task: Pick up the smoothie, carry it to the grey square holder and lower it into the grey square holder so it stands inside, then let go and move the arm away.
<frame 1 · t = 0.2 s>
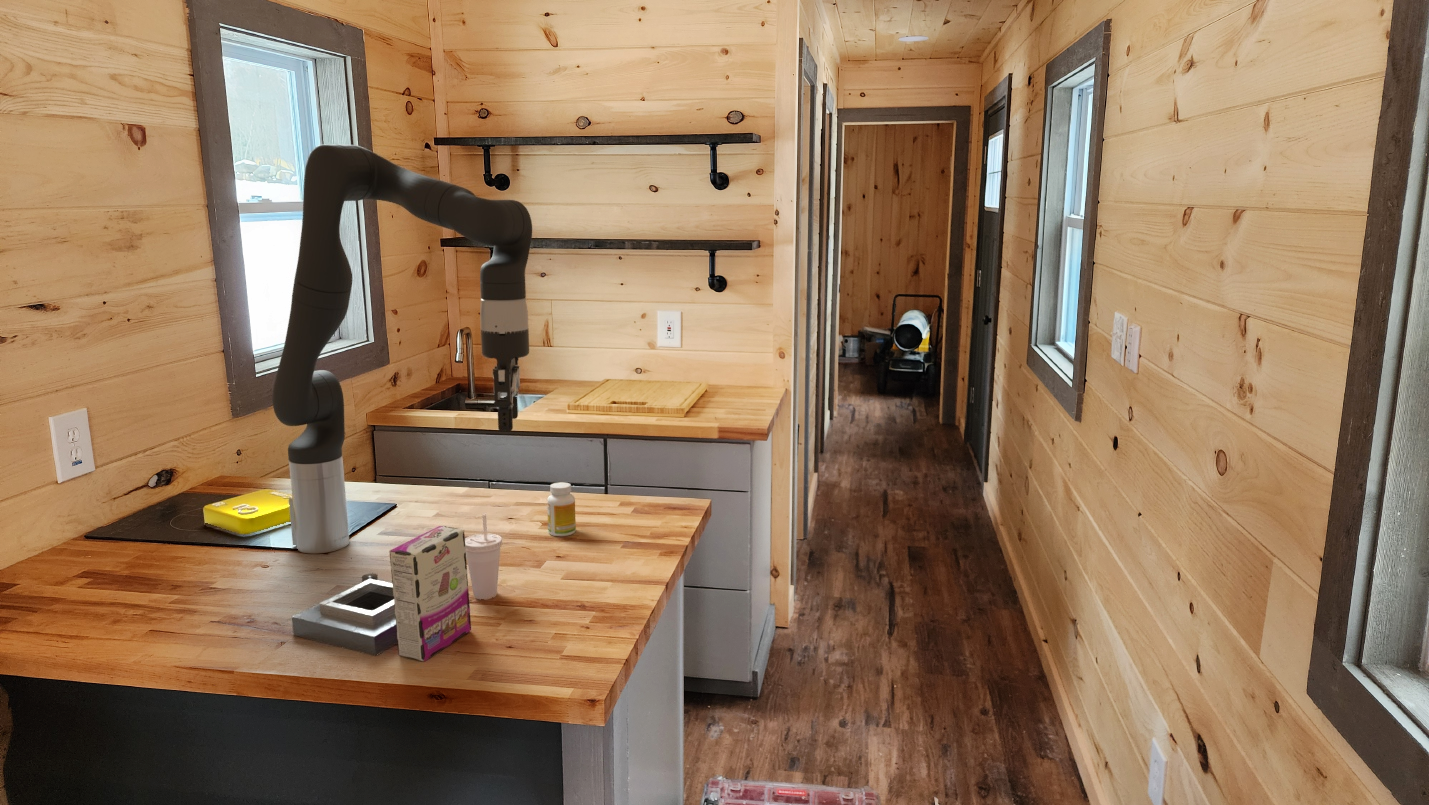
hand: (508, 424, 155), 28 cm above the counter, tool pointing down, fingers open, 8 cm apart
smoothie: (485, 596, 156), on the counter
candy bar box: (435, 644, 139), on the counter
element tile: (258, 524, 192), on the counter
grey square holder: (373, 623, 146), on the counter
supplement bottle: (562, 533, 186), on the counter
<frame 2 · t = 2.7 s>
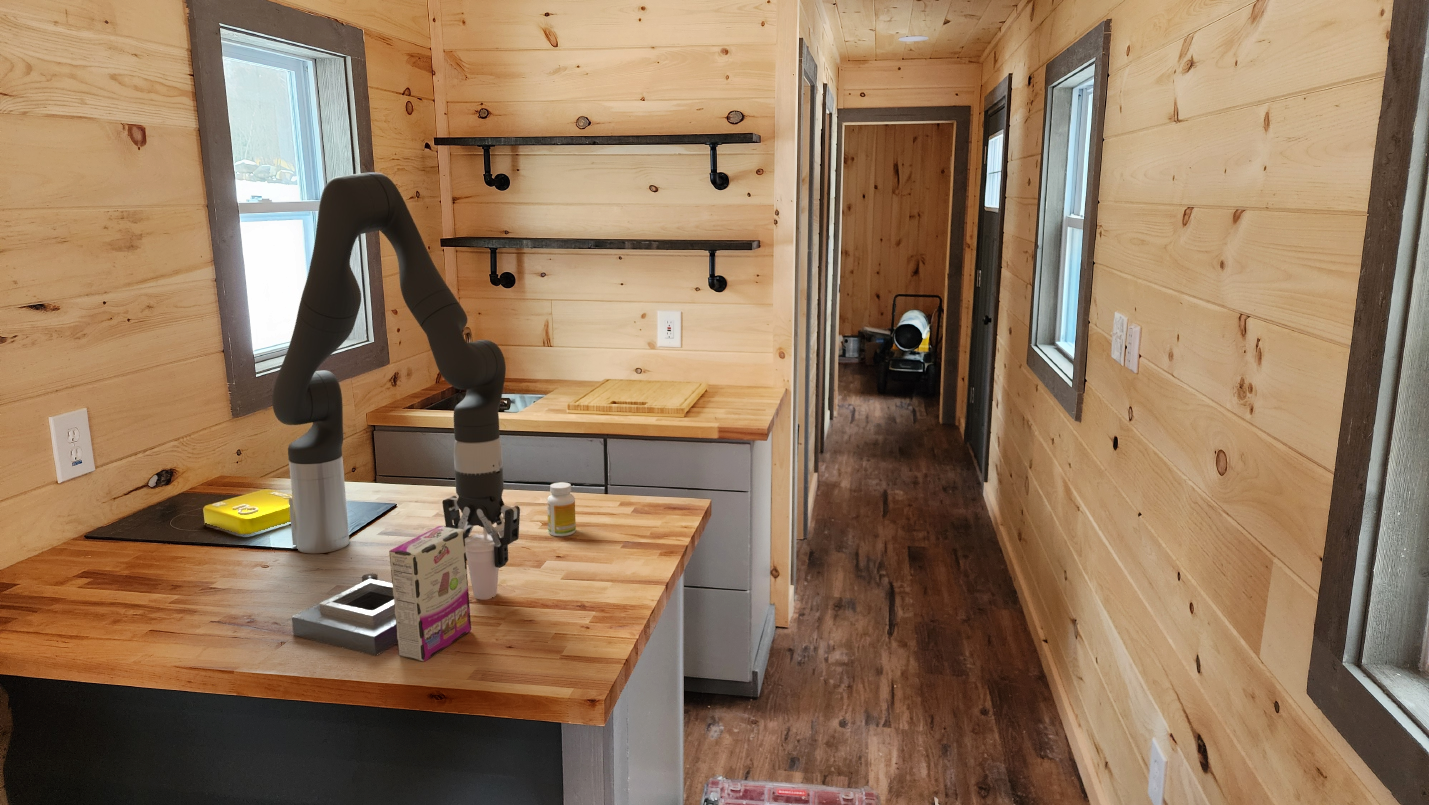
hand: (483, 562, 155), 6 cm above the counter, tool pointing down, fingers closed on smoothie, 6 cm apart
smoothie: (485, 596, 156), on the counter, touching gripper
everything else where it was.
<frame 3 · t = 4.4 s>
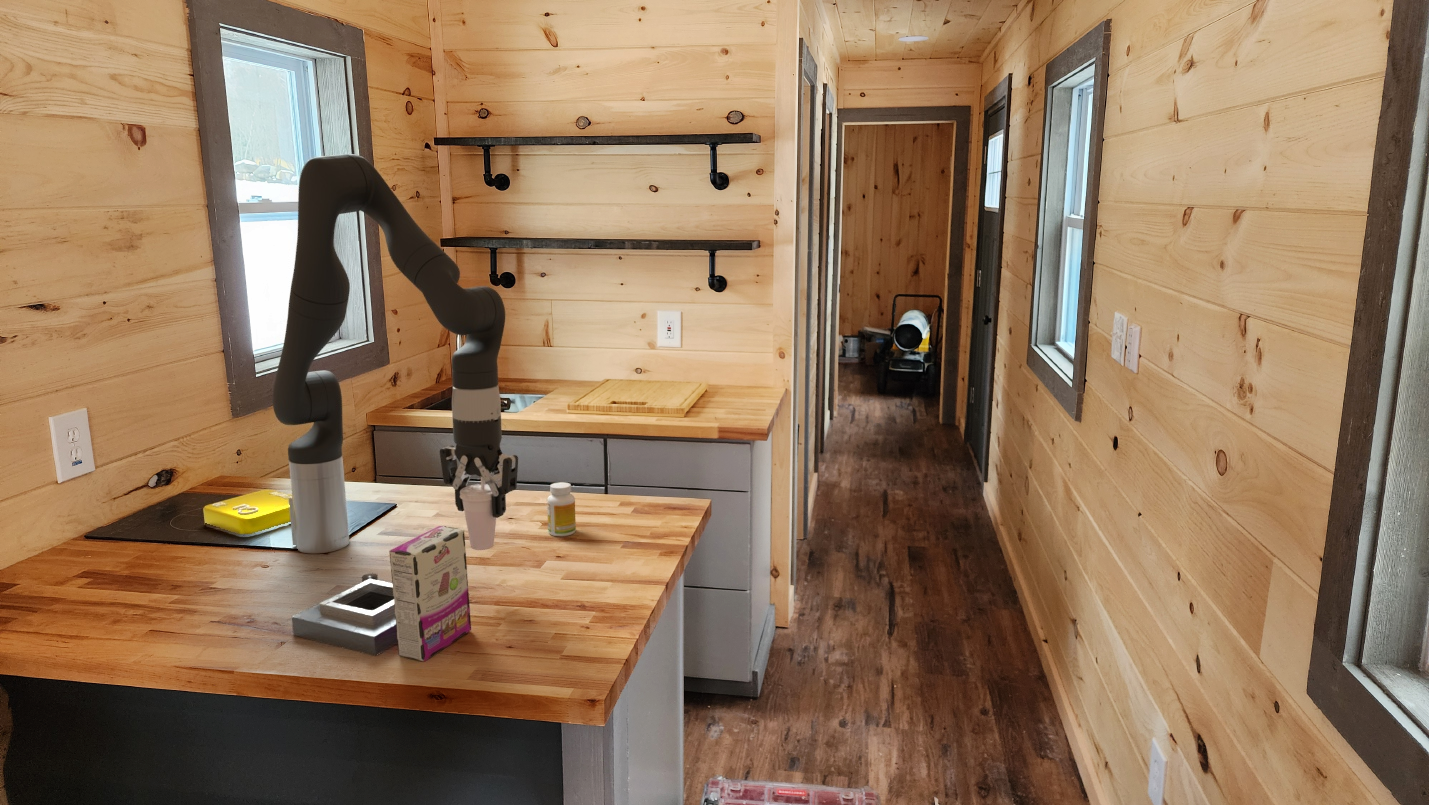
hand: (480, 512, 154), 14 cm above the counter, tool pointing down, fingers closed on smoothie, 6 cm apart
smoothie: (482, 547, 155), point 8 cm above the counter, touching gripper
everything else where it was.
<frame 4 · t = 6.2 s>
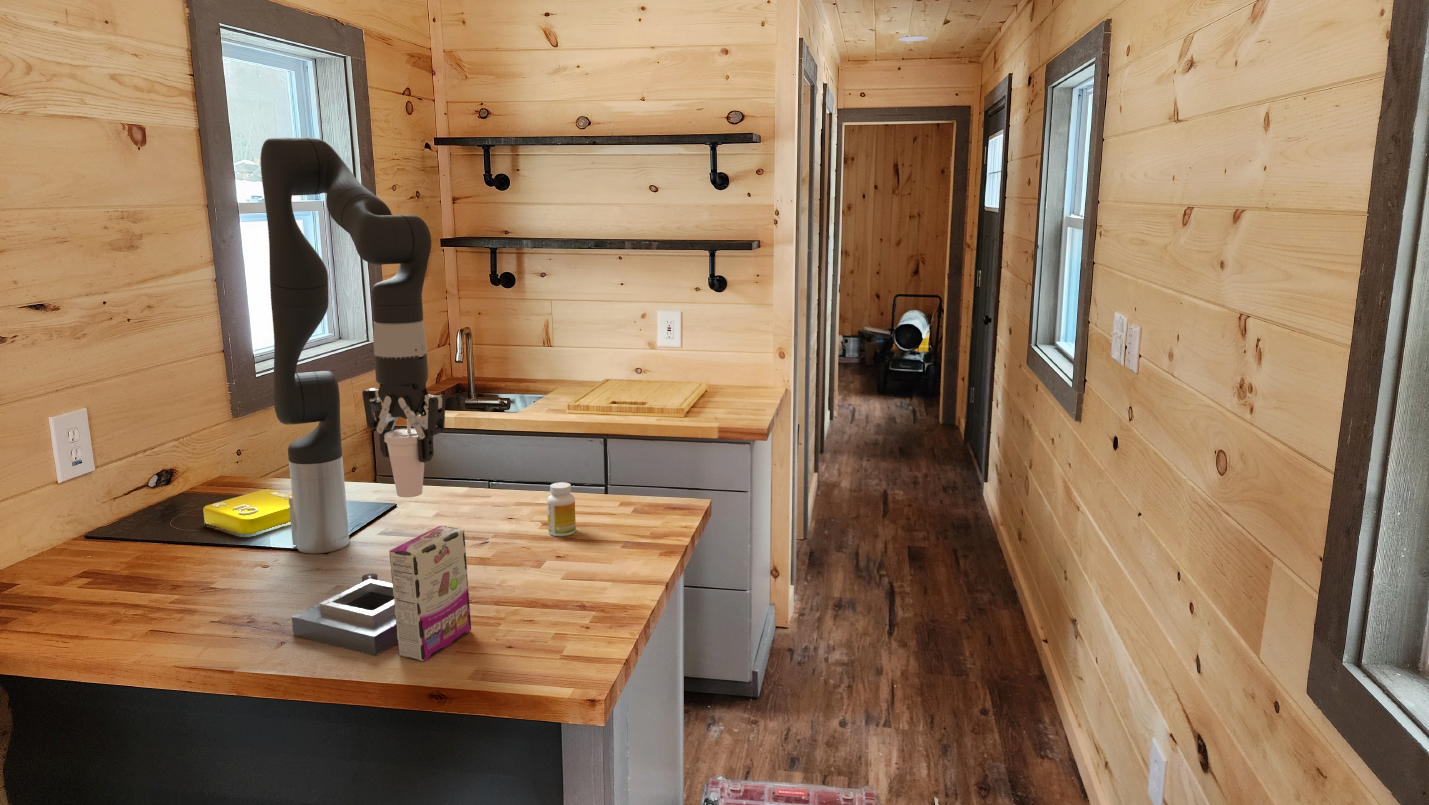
hand: (407, 458, 145), 25 cm above the counter, tool pointing down, fingers closed on smoothie, 6 cm apart
smoothie: (409, 495, 146), point 19 cm above the counter, touching gripper
everything else where it was.
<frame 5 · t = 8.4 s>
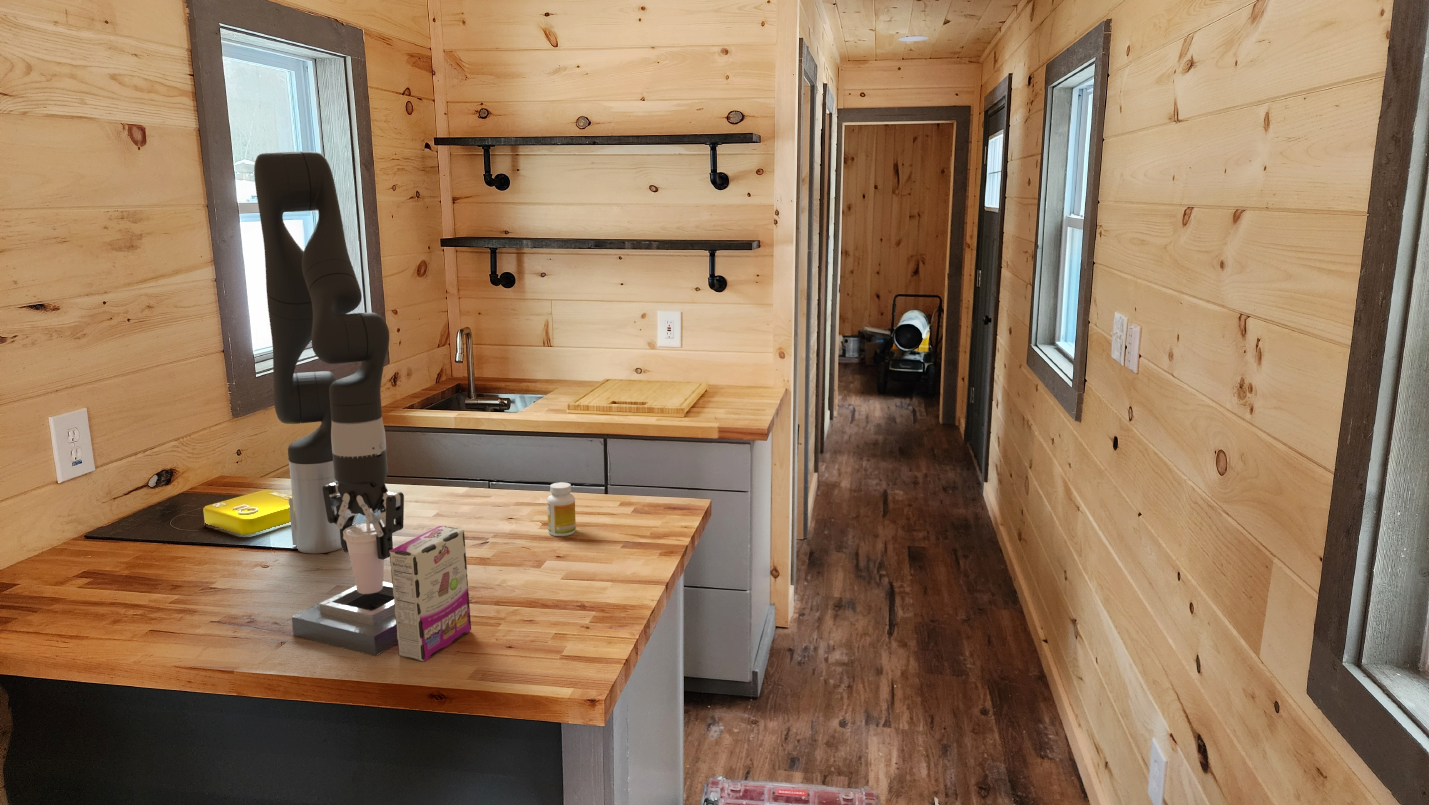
hand: (367, 553, 143), 11 cm above the counter, tool pointing down, fingers closed on smoothie, 6 cm apart
smoothie: (370, 590, 145), point 5 cm above the counter, touching gripper
everything else where it was.
when the fingers open (7 cm above the counter, at t = 9.8 s): smoothie drops 1 cm, resting in grey square holder.
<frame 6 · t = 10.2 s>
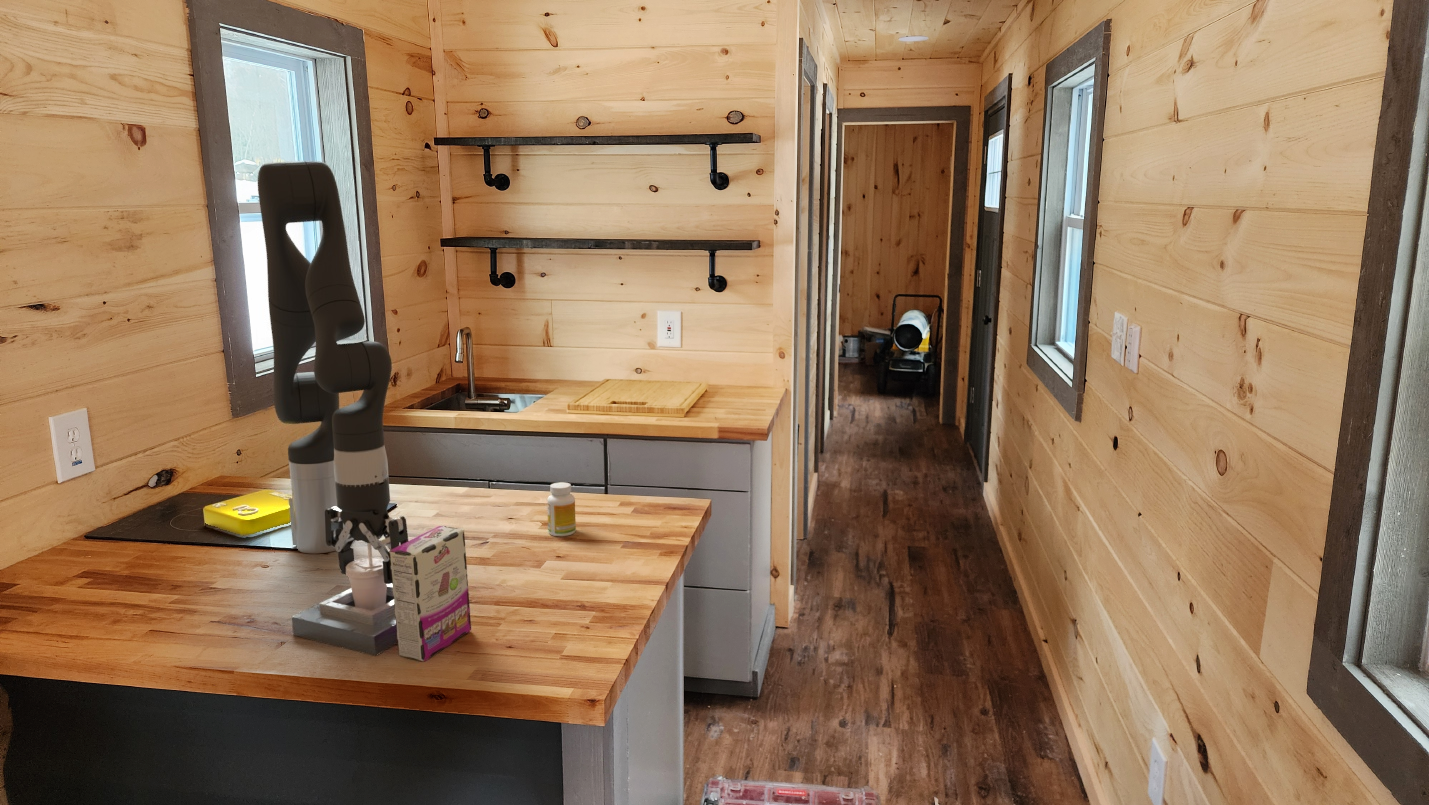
hand: (369, 577, 144), 8 cm above the counter, tool pointing down, fingers open, 8 cm apart
smoothie: (372, 624, 146), resting in grey square holder
everything else where it was.
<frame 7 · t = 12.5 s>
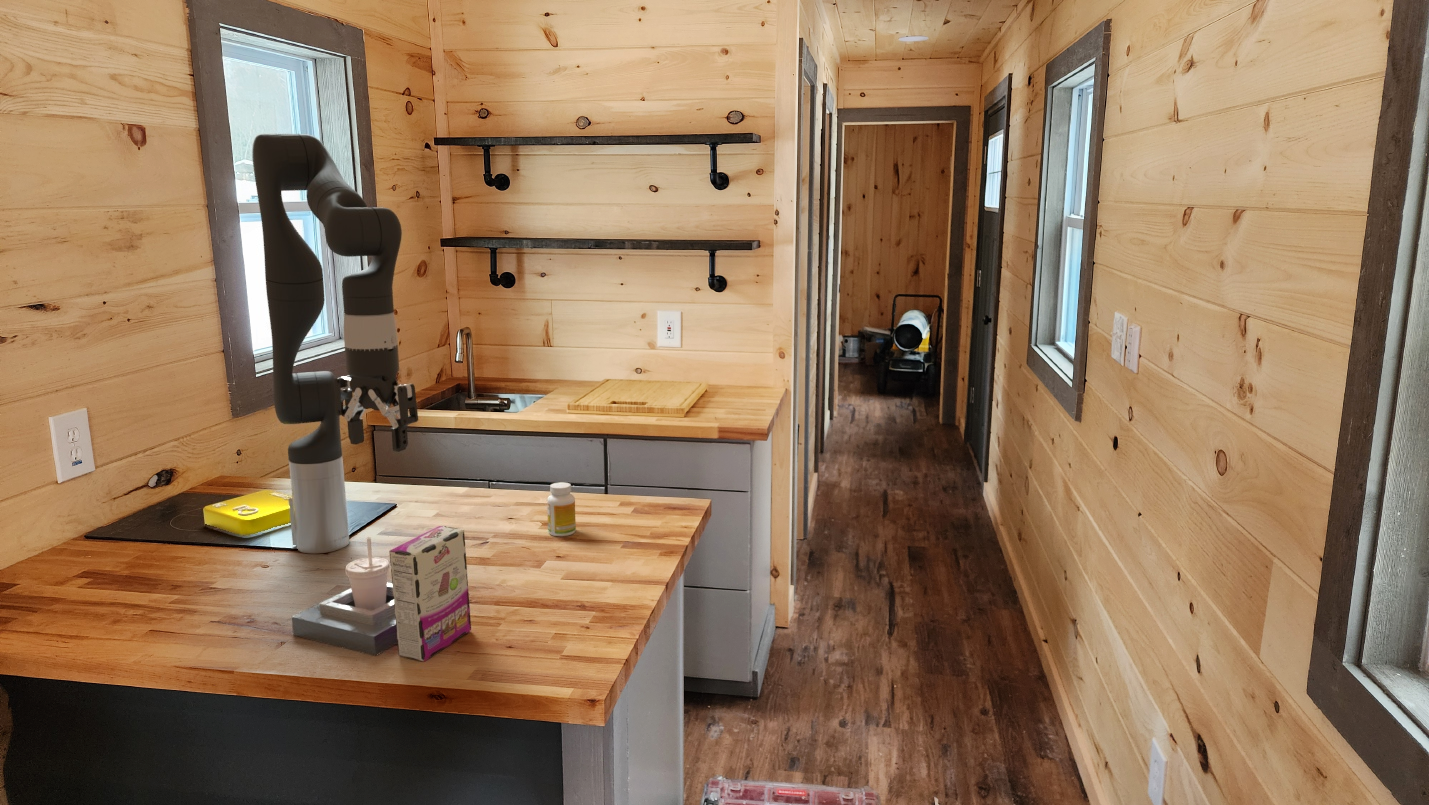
hand: (378, 446, 145), 27 cm above the counter, tool pointing down, fingers open, 8 cm apart
nothing on the counter moved.
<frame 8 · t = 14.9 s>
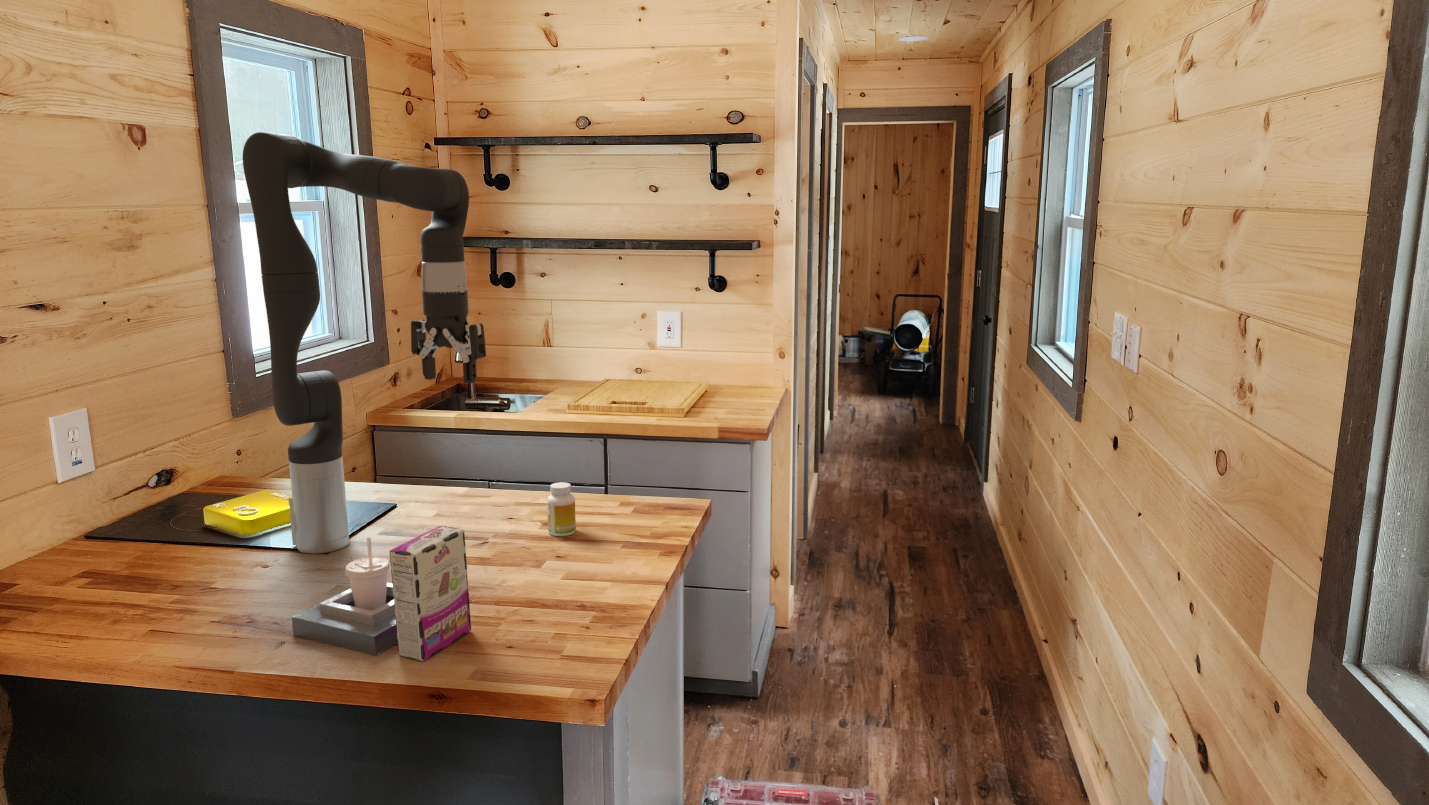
hand: (449, 381, 165), 33 cm above the counter, tool pointing down, fingers open, 8 cm apart
nothing on the counter moved.
at the end: smoothie 0.3 cm off-centre on the grey square holder, point 0.0 cm above the grey square holder's base; smoothie tilted 0°; the gripper is holding nothing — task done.
